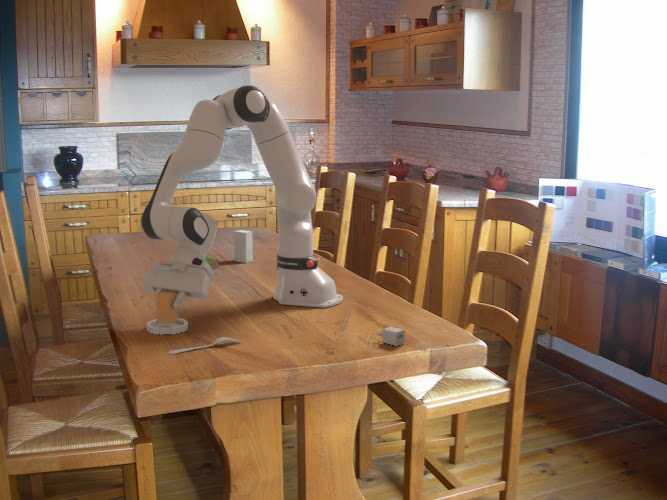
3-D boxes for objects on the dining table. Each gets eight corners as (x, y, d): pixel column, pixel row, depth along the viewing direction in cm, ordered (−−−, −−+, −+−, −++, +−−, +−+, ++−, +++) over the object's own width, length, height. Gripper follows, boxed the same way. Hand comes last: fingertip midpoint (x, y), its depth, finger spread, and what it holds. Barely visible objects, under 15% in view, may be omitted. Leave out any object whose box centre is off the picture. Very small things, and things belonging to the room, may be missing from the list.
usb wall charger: (395, 347, 202) (395, 332, 201) (374, 341, 207) (375, 327, 206) (404, 343, 205) (404, 329, 204) (384, 338, 210) (384, 324, 209)
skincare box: (253, 261, 304) (252, 231, 301) (246, 263, 300) (245, 232, 298) (240, 259, 307) (240, 229, 304) (234, 261, 303) (233, 231, 301)
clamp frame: (219, 266, 293) (219, 259, 293) (190, 276, 277) (190, 268, 276) (196, 264, 297) (196, 256, 297) (167, 273, 281) (166, 265, 280)
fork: (165, 362, 196) (164, 352, 196) (240, 341, 206) (239, 331, 206) (169, 365, 194) (167, 355, 193) (245, 344, 204) (243, 334, 203)
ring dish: (195, 326, 218) (195, 320, 218) (171, 336, 208) (171, 331, 208) (163, 321, 222) (163, 315, 222) (138, 331, 213) (138, 325, 212)
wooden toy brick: (177, 320, 216) (176, 292, 214) (168, 324, 212) (167, 296, 211) (165, 318, 218) (165, 291, 216) (157, 322, 214) (156, 294, 212)
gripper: (150, 254, 222) (129, 295, 215) (210, 262, 214) (190, 304, 207) (160, 267, 227) (140, 307, 220) (219, 274, 219) (200, 316, 212)
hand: (165, 306), depth 213 cm, fingers closed on wooden toy brick, 4 cm apart
